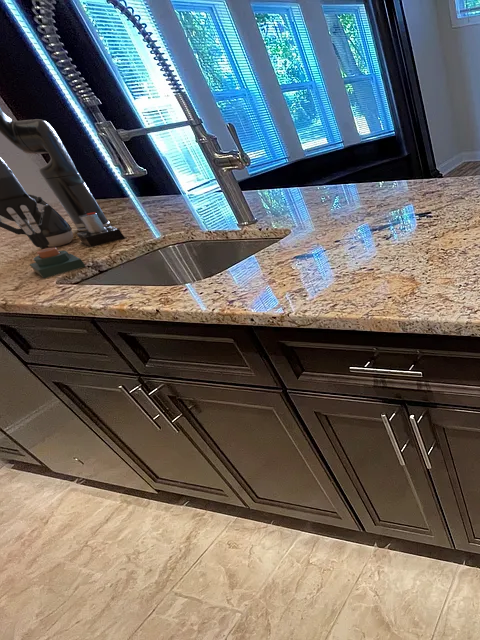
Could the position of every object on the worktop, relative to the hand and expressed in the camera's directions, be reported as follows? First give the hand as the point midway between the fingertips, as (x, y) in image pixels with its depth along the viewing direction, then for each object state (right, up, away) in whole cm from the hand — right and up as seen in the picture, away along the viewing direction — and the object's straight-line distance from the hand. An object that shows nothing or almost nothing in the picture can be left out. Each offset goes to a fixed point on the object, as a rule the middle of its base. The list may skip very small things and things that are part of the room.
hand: (44, 247), depth 112 cm
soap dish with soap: (0, -5, +4) cm, 6 cm away
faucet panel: (-9, +11, +25) cm, 29 cm away
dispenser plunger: (0, -2, +1) cm, 2 cm away
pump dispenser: (-23, +9, +25) cm, 35 cm away
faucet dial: (-9, +13, +23) cm, 28 cm away
